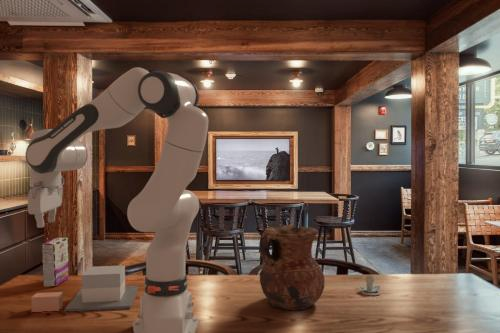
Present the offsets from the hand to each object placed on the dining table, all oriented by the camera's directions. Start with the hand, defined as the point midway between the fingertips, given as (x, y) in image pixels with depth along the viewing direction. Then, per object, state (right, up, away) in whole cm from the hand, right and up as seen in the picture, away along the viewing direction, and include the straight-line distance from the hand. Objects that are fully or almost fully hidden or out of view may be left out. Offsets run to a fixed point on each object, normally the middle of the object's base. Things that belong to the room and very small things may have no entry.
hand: (46, 224), depth 128 cm
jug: (+78, -27, +6) cm, 83 cm away
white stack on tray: (+15, -27, +10) cm, 32 cm away
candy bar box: (-10, -27, +28) cm, 40 cm away
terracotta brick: (0, -27, +1) cm, 27 cm away
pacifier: (+107, -27, +16) cm, 111 cm away
